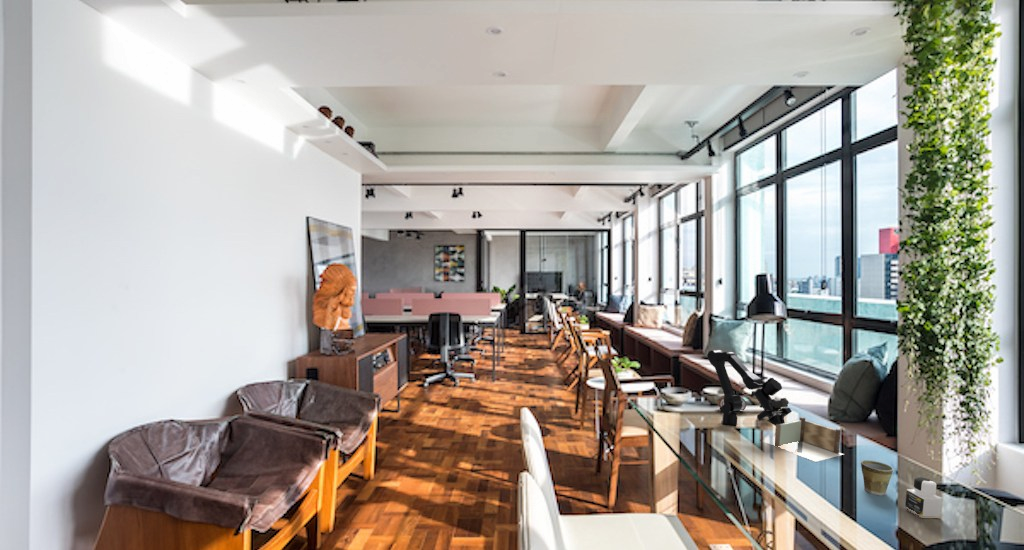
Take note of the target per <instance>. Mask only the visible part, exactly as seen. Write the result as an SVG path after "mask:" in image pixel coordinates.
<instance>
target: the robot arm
mask: <svg viewBox="0 0 1024 550" xmlns="http://www.w3.org/2000/svg"><path fill="white" fill-rule="evenodd" d="M706 356H707V359H708V361H709V363H710V364H711V366H713V368H714V369H715V372H716V375H717V378H718V380H719V382H720V383H719V384H720V386H721V389H722V392H723V394H724V395H723V396H724V405H723V406H722V407H719V411H720V413H722V415H721V416H722V417H721V424H722V425H723V426H727V427H728V426H729V427H737V425H738V416H737V414H739V413H740V412H739V411H740V410H741V408H742V403H743V402H742V400H741V397H742V396H741V395H740V394H736V393H735V391H734V389H733V385H732V382H731V380H730V377H729V375H728V372H727V368H726V365H725V364H726V362H728V363H729V365H730V366H731V367H732V368H733V369H734V370H735V371H736V372H737V374H738V375H739V376H741V379H742V382H743V384H744V385H745V388H747V389H748V390H751V394H750V397H751V398H756V400H757V401H758V403H759V404H760V405H759V408H760V409H763V411H760V413H758V414H757V415H756V419H757V421H758V422H763V421H764V419H765V418H768V419H767V420H766V422H768V423H770V424H772V425H773V426H775V427H776V424H783V423H786V422H785V417H786V416H788V415H789V414H791V413H792V410H791V408H790V407H789V403H790V402H789V401H788V399H787V398H786V397H782V398H780V399H779V400H776V399H772V397H771V396H775V394H777V393H779V391H781V390H782V389H783V386H782V384H781V382H779V381H777V379H774V377H769V378H768V379H767V380H766V381H765V380H763V379H762V378H761V377H760V376H758V375H757V374H755V373H753V372H751V371H750V370H749V369H748V368H747V366H745V364H744V363H743V362H742V361H741V360H740V359H739V358H738V357H737V355H736V354H735V352H732V351H723V350H721V349H716V350H709V351H708V352H707V354H706ZM754 390H755V391H754Z"/></svg>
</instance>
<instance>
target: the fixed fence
mask: <svg viewBox="0 0 1024 550" xmlns="http://www.w3.org/2000/svg"><path fill="white" fill-rule="evenodd" d="M798 420H800V421H801V432H800V441H804V442H807V443H810V444H813V445H816V446H819V447H822V448H825V449H828V450H831V451H833V452H834V453H836V454H839V453H840V445H841V433H842V432H841V429H839V428H835V429H834V428H831V427H827V426H825V425H821V424H818V423H815V422H812V421H808V420H806V418H805V417H803V416H800V417H799V419H798Z"/></svg>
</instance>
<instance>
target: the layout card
mask: <svg viewBox="0 0 1024 550" xmlns="http://www.w3.org/2000/svg"><path fill="white" fill-rule="evenodd" d="M798 442H799V443H798V449H796V450H795V452H794V453H792V454H794V455H796V456H799V457H802V458H803V459H805V458H807V459H809V460H808V461H810V460H812V461H811V462H813V461H814V462H813V463H815V462H816V463H818V462H822V461H824V460H828V459H832V458H836V457H840V456H842V455H843V456H844V455H845V453H842V452H839V454H836V453H834V452H833V451H831V450H828V449H825V448H822V447H819V446H816V445H813V444H810V443H807V442H804V441H798ZM803 447H804V448H803ZM807 459H806V460H807Z"/></svg>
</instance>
